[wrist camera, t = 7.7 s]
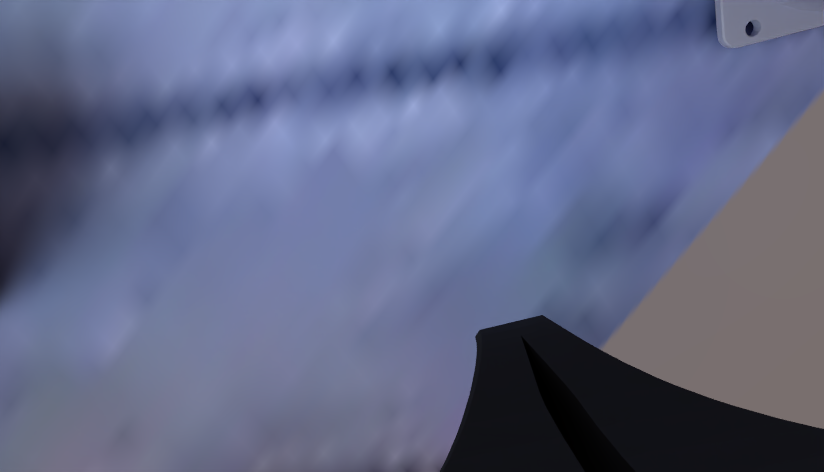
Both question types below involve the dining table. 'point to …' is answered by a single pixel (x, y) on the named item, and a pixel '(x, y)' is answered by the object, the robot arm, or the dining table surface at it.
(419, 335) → the dining table surface
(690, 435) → the robot arm
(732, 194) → the dining table surface
